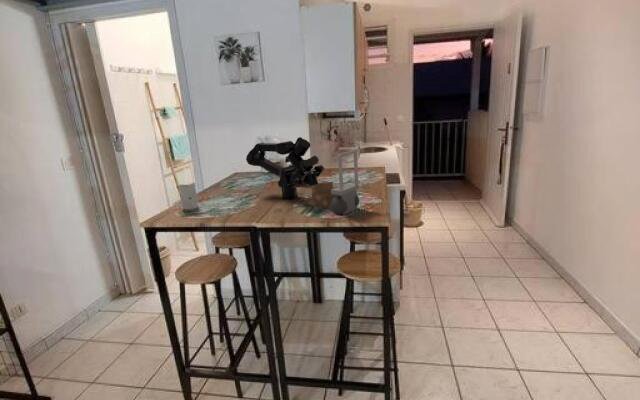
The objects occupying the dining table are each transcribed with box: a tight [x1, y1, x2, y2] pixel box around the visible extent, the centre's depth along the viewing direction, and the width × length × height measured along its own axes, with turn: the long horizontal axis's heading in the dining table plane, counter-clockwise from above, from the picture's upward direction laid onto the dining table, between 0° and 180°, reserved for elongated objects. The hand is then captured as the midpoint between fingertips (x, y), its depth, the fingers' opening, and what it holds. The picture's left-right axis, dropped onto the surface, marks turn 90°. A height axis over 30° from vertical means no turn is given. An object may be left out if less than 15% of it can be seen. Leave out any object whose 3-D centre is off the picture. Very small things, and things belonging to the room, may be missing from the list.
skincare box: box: [178, 181, 199, 210], centre depth 162 cm, size 6×4×12 cm
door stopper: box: [288, 163, 305, 188], centre depth 194 cm, size 9×6×12 cm, turn 146°
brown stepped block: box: [303, 180, 339, 210], centre depth 154 cm, size 16×10×9 cm, turn 50°
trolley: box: [330, 149, 360, 216], centre depth 140 cm, size 7×12×25 cm, turn 140°
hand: (318, 188), depth 155 cm, fingers closed, pressing on brown stepped block
